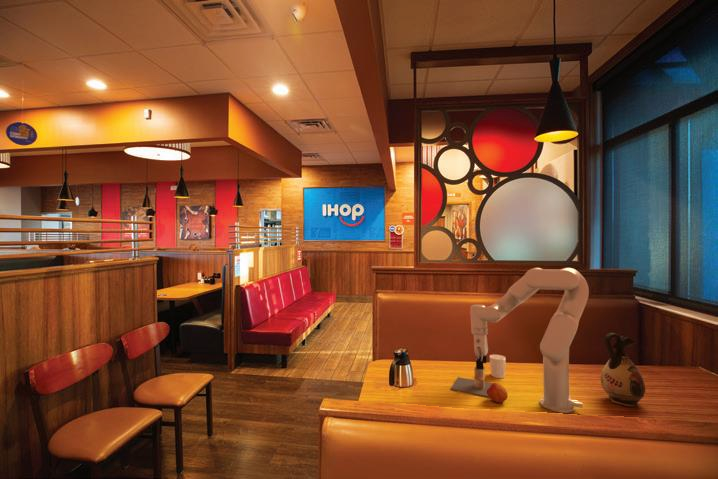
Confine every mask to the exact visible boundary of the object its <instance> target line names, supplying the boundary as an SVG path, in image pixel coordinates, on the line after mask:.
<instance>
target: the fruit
mask: <svg viewBox="0 0 718 479" xmlns="http://www.w3.org/2000/svg"><path fill="white" fill-rule="evenodd" d="M487 395H488V396H489V399H490V400H492V401H493V402H496V403H499V404H500V403H501V404H502V403H505V401H507V399H508V391H507V389H506V388H505V387H504V386H503V385H502V384H501V383H499V382H498V383H497V382H493V384H492V385H491V386H490V388H488V389H487Z"/></svg>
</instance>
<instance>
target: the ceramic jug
mask: <svg viewBox="0 0 718 479" xmlns="http://www.w3.org/2000/svg"><path fill="white" fill-rule="evenodd" d="M612 339H615V341H614V343H613V344H612V343H611V340H612ZM604 342H605V343H604V344H605V346H606V349H607V351H608V354H609V359H608V361H607V362H606V364H605V365H604V366H603V368H602V371H601V372H600V373H601V374H600V375H601V376H600V384H601V387H602V390H604V392H605V393H606V394H607V396H608V397H609V398H610V401H611V402H612V403H615V404H618V405H621V406H625V407H634V408H637V407H638V403H639V402H640V401H641V400H642V399H643V398H644V397H645V393H646V385H645V381H644V378H643V376H642V374H641V372H640V371H639V369H638V368H637V367H636V365H635V363H634V362H633V361H632V360H631V359H630V358H629V356H628V355H627V353H626V350H625V349H626V348H628V347H629V346H632V345H635V341H634V340H633V339H632V338H630V337H628V336H626V337H624V336H623V335H621V336H620V335H619V334H617V333H615V332H609V333H607V334H605V337H604ZM613 348H614V349H615V351H614V349H613Z"/></svg>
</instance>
